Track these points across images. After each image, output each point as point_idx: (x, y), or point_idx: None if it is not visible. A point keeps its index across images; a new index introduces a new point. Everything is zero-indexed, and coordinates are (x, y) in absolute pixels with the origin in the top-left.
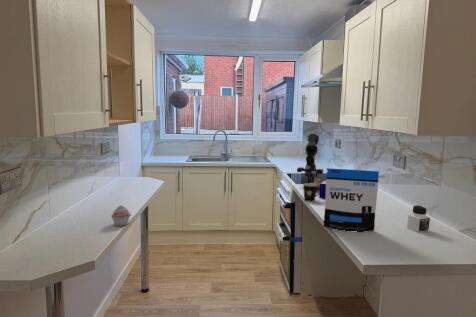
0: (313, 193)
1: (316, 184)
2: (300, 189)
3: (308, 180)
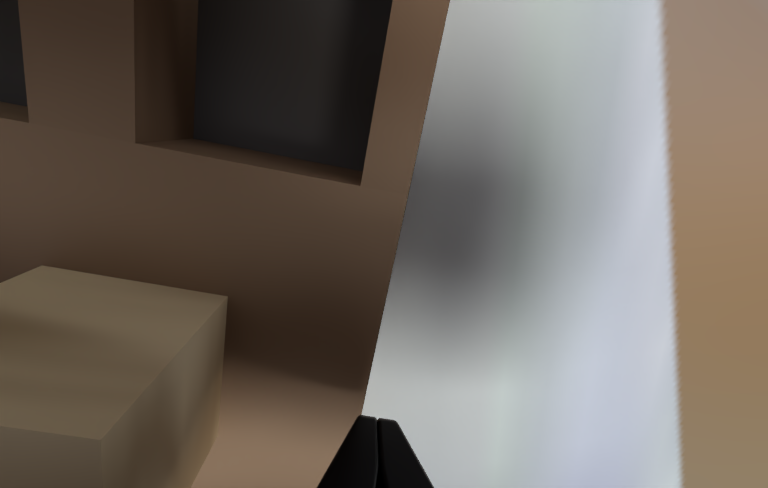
0: None
1: (136, 287)
2: (616, 42)
3: (416, 457)
